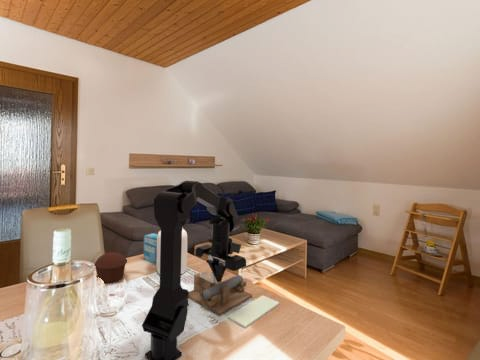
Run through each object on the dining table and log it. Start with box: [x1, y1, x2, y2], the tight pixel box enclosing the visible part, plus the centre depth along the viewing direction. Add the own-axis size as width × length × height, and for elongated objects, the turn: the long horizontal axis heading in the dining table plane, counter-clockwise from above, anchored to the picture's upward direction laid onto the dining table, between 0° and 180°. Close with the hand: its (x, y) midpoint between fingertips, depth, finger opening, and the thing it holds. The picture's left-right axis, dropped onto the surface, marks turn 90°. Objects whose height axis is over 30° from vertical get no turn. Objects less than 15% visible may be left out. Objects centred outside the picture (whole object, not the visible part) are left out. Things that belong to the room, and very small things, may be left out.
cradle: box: [188, 272, 253, 317], centre depth 93 cm, size 17×16×6 cm
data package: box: [143, 232, 158, 265], centre depth 123 cm, size 12×4×12 cm, turn 58°
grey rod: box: [203, 274, 244, 300], centre depth 92 cm, size 3×18×3 cm, turn 139°
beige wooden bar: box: [199, 271, 217, 283], centre depth 92 cm, size 7×2×3 cm, turn 49°
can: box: [156, 227, 188, 275], centre depth 113 cm, size 12×12×20 cm
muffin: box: [94, 251, 128, 285], centre depth 104 cm, size 12×11×10 cm
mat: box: [227, 294, 280, 329], centre depth 86 cm, size 7×18×1 cm, turn 139°
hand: (219, 281), depth 89 cm, fingers closed
